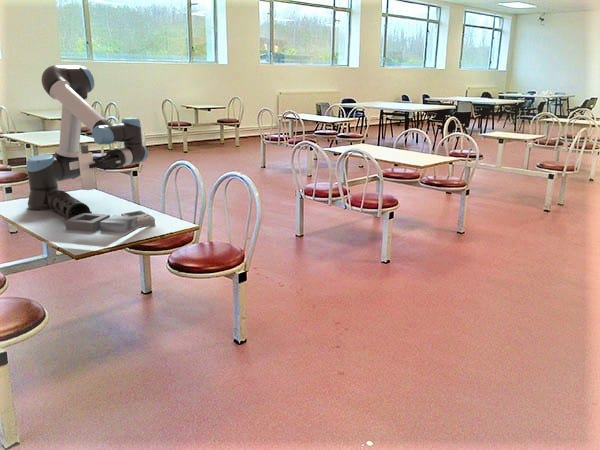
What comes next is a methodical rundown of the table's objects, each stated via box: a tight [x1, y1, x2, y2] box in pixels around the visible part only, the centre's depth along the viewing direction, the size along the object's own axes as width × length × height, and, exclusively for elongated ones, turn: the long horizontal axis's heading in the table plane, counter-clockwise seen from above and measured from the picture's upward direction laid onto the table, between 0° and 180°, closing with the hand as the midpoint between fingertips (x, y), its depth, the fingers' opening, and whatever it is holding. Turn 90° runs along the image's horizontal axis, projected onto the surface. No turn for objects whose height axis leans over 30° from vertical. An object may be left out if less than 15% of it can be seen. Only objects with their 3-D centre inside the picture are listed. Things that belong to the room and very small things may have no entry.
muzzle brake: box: [48, 189, 93, 220], centre depth 225 cm, size 10×28×10 cm
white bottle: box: [78, 144, 96, 191], centre depth 201 cm, size 5×5×17 cm
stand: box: [100, 214, 138, 237], centre depth 206 cm, size 10×10×5 cm
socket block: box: [64, 212, 111, 233], centre depth 208 cm, size 12×12×5 cm
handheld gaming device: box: [120, 210, 156, 229], centre depth 218 cm, size 9×15×4 cm, turn 41°
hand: (76, 166), depth 196 cm, fingers closed on white bottle, 5 cm apart
